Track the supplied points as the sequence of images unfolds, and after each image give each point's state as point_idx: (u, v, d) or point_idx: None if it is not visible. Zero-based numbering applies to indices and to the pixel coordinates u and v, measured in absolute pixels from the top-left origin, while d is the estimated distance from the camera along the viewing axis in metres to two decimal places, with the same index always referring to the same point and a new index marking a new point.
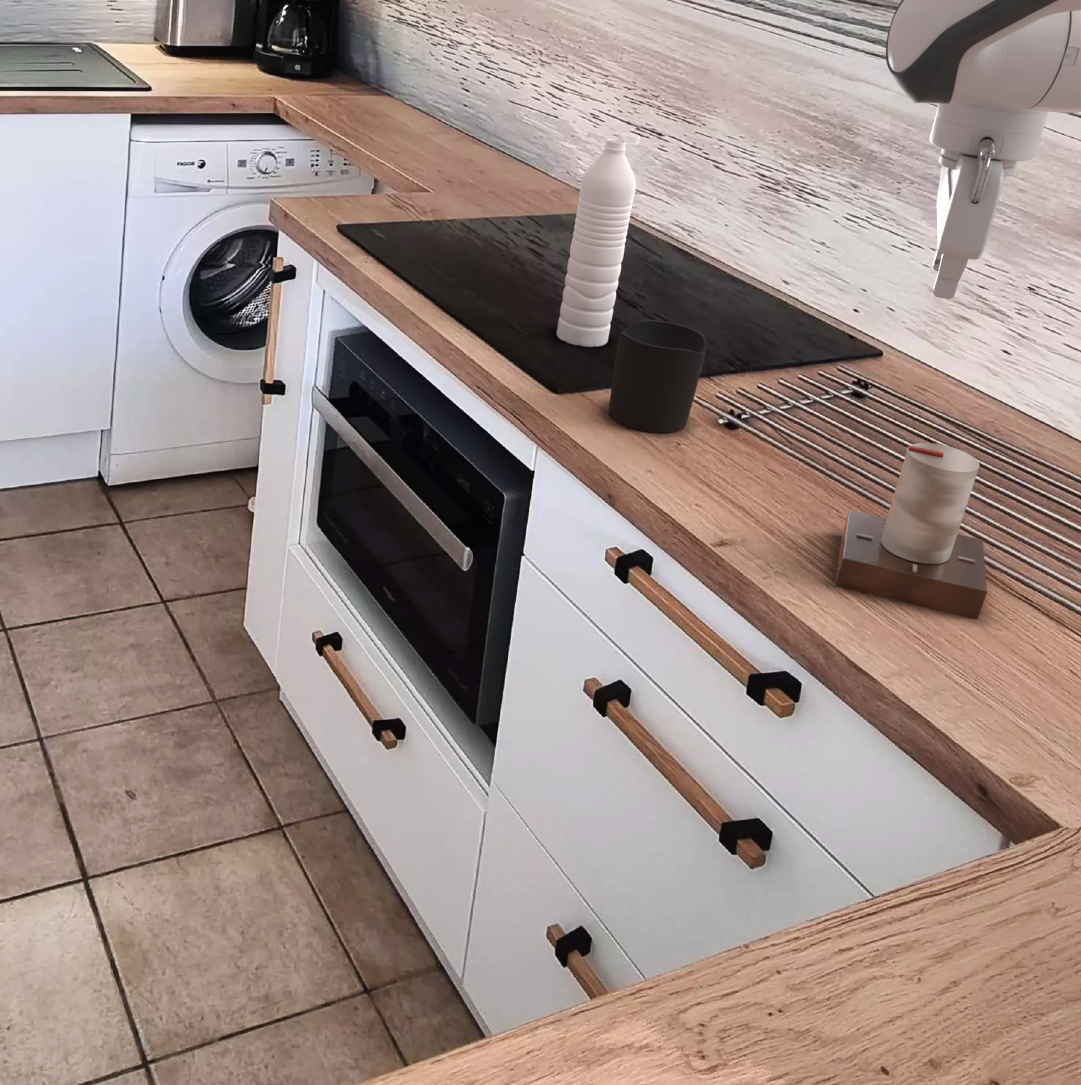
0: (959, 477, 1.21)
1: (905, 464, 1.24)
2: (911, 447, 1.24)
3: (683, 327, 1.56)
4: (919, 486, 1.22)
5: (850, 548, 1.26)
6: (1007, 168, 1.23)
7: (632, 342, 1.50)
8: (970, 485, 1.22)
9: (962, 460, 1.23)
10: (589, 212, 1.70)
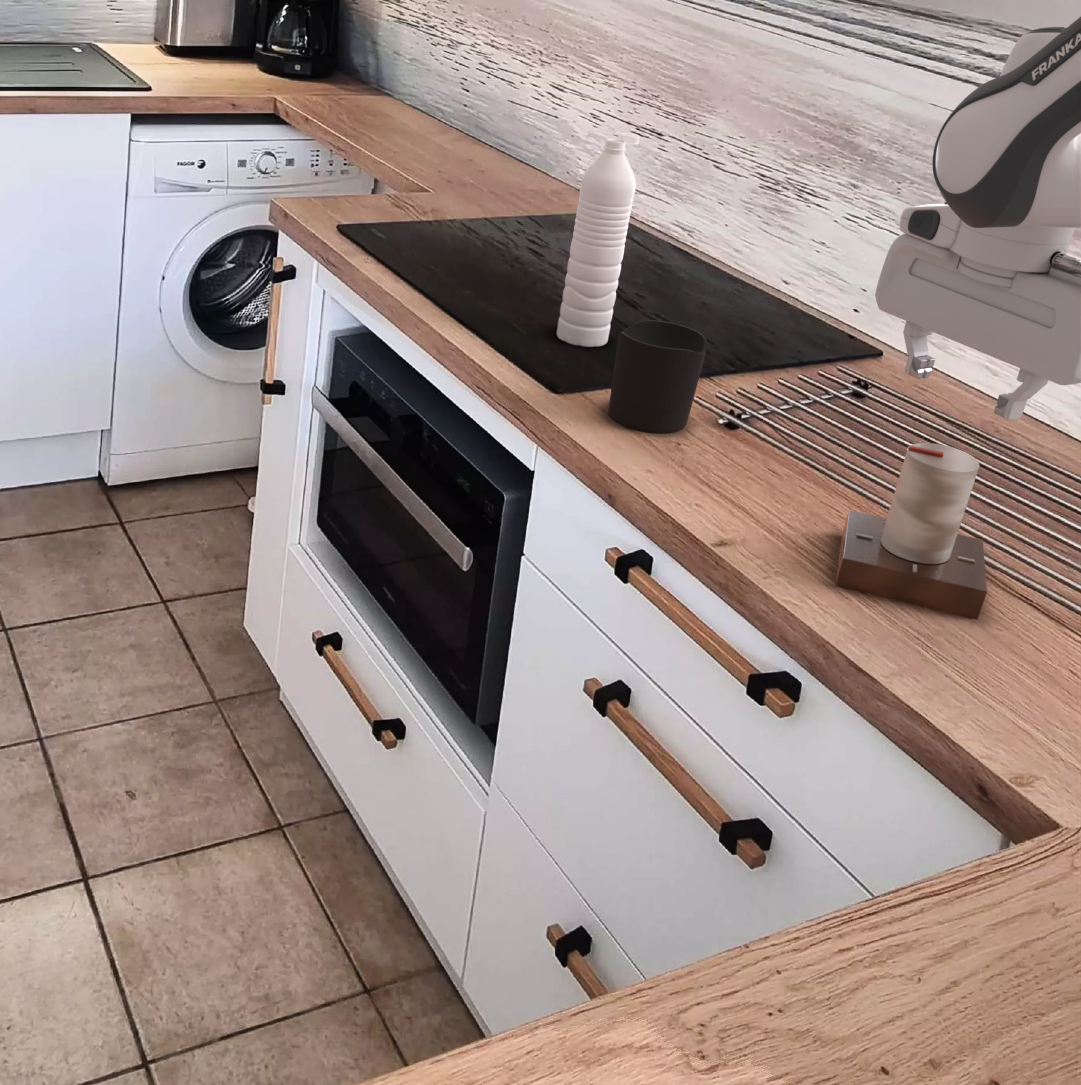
0: (959, 477, 1.21)
1: (905, 464, 1.24)
2: (911, 447, 1.24)
3: (683, 327, 1.56)
4: (919, 486, 1.22)
5: (850, 548, 1.26)
6: None
7: (632, 342, 1.50)
8: (970, 485, 1.22)
9: (962, 460, 1.23)
10: (589, 212, 1.70)
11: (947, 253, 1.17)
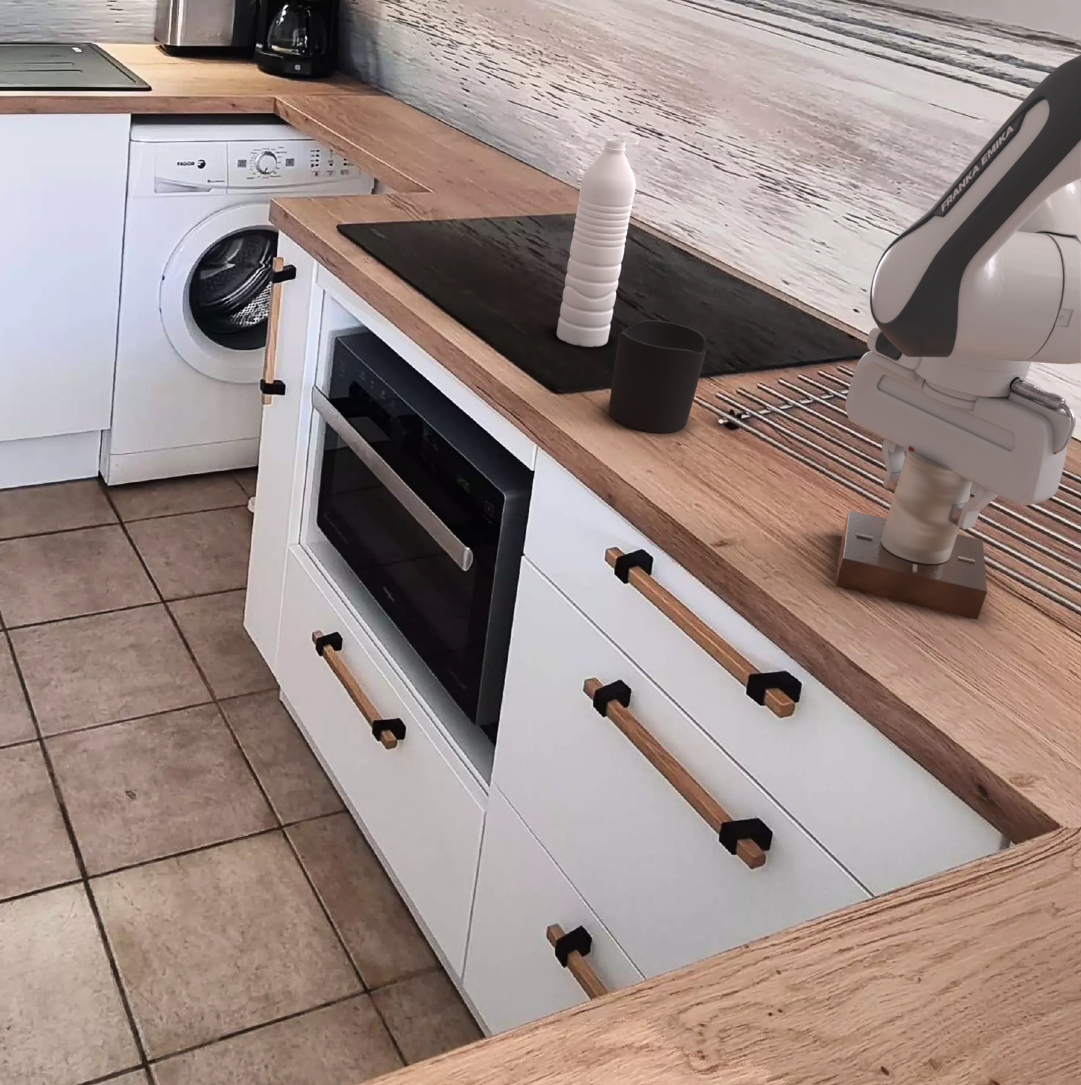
0: (959, 477, 1.21)
1: (905, 464, 1.24)
2: (911, 447, 1.24)
3: (683, 327, 1.56)
4: (919, 486, 1.22)
5: (850, 548, 1.26)
6: None
7: (632, 342, 1.50)
8: (970, 485, 1.22)
9: None
10: (589, 212, 1.70)
11: (912, 373, 1.21)
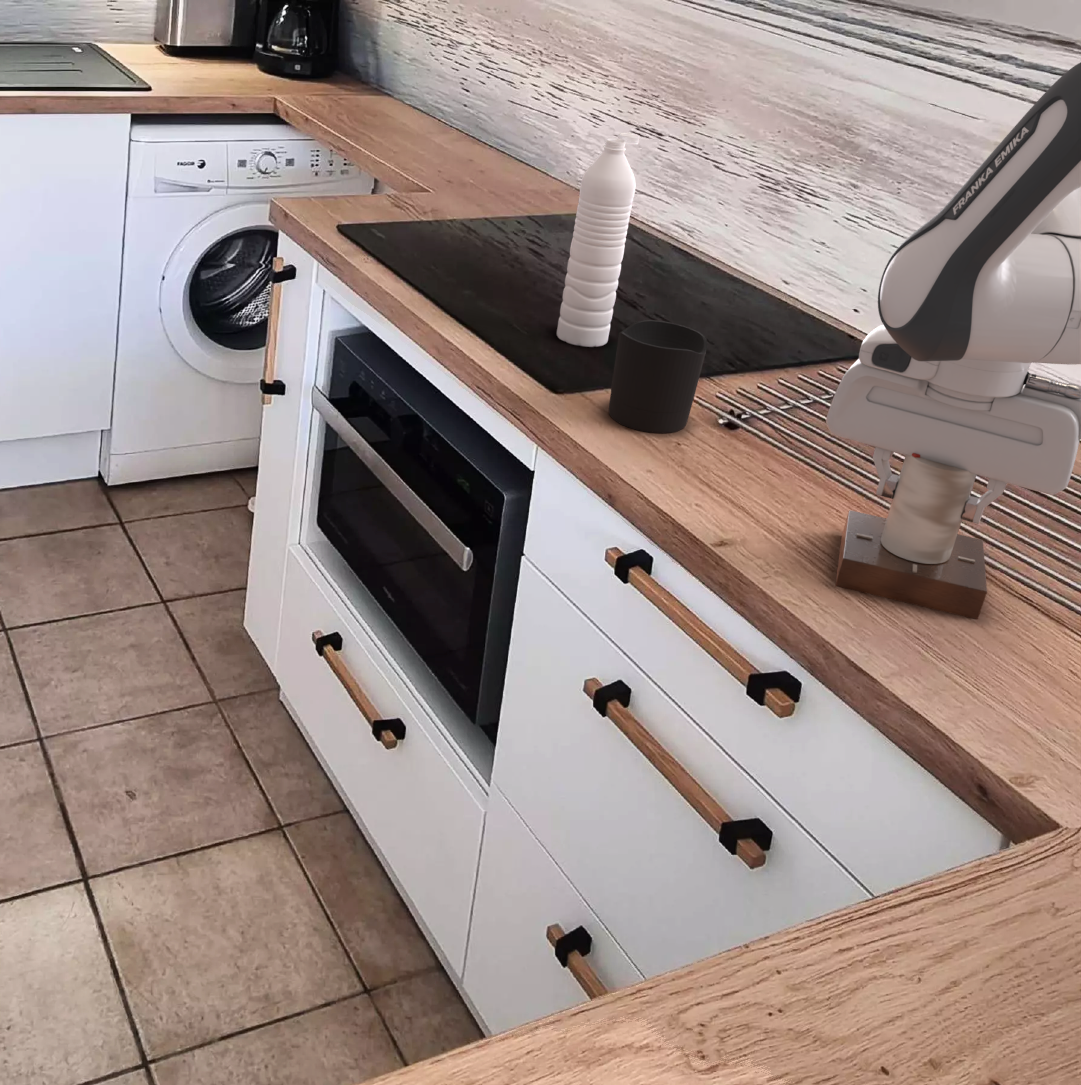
0: (972, 475, 1.22)
1: (915, 472, 1.22)
2: (917, 454, 1.22)
3: (683, 327, 1.56)
4: (937, 492, 1.22)
5: (850, 548, 1.26)
6: None
7: (632, 342, 1.50)
8: None
9: None
10: (589, 212, 1.70)
11: (918, 382, 1.20)
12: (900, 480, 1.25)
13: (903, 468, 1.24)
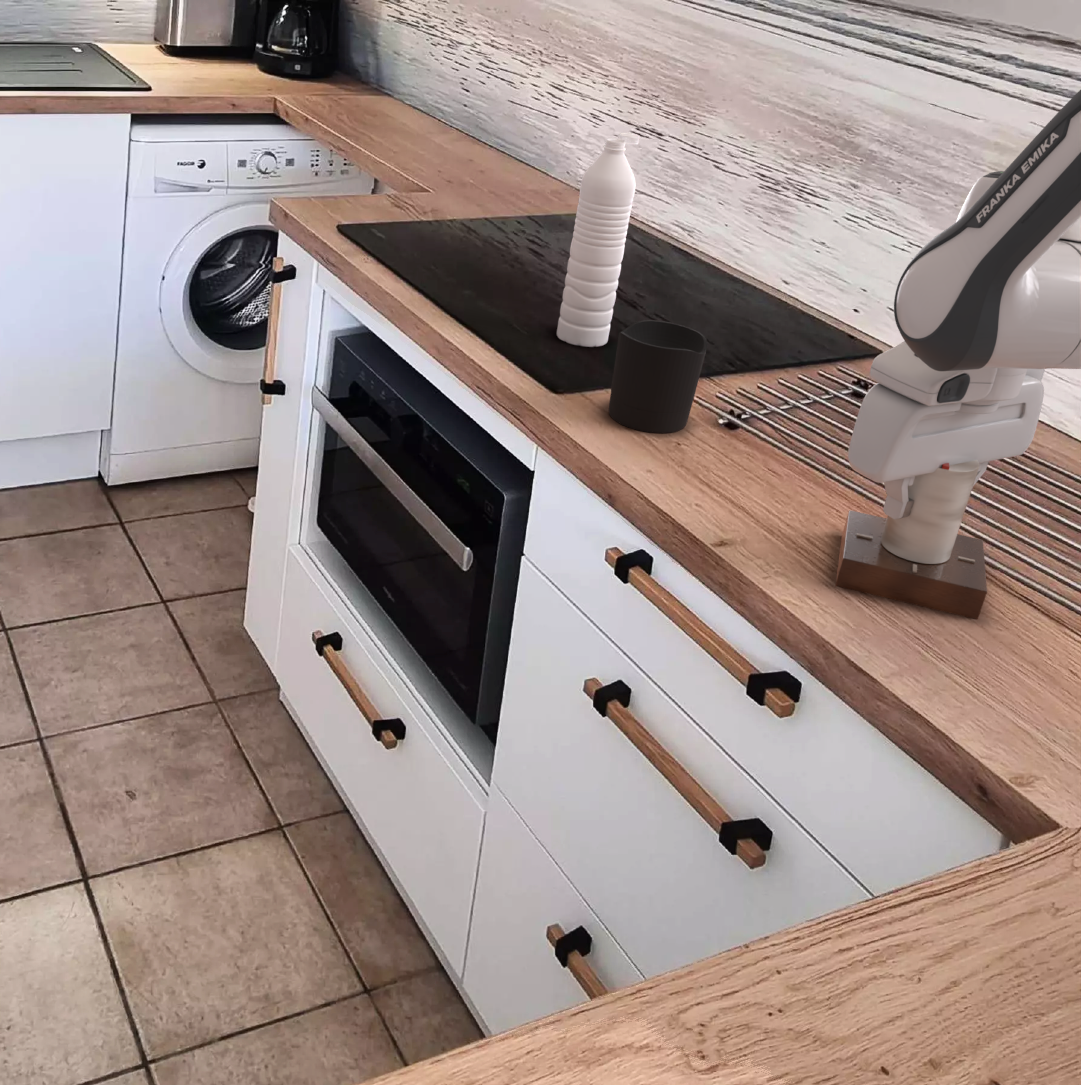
0: None
1: (951, 482, 1.21)
2: (949, 465, 1.21)
3: (683, 327, 1.56)
4: (969, 491, 1.22)
5: (850, 548, 1.26)
6: None
7: (632, 341, 1.50)
8: None
9: None
10: (589, 212, 1.70)
11: (960, 403, 1.17)
12: (927, 495, 1.22)
13: (928, 483, 1.22)
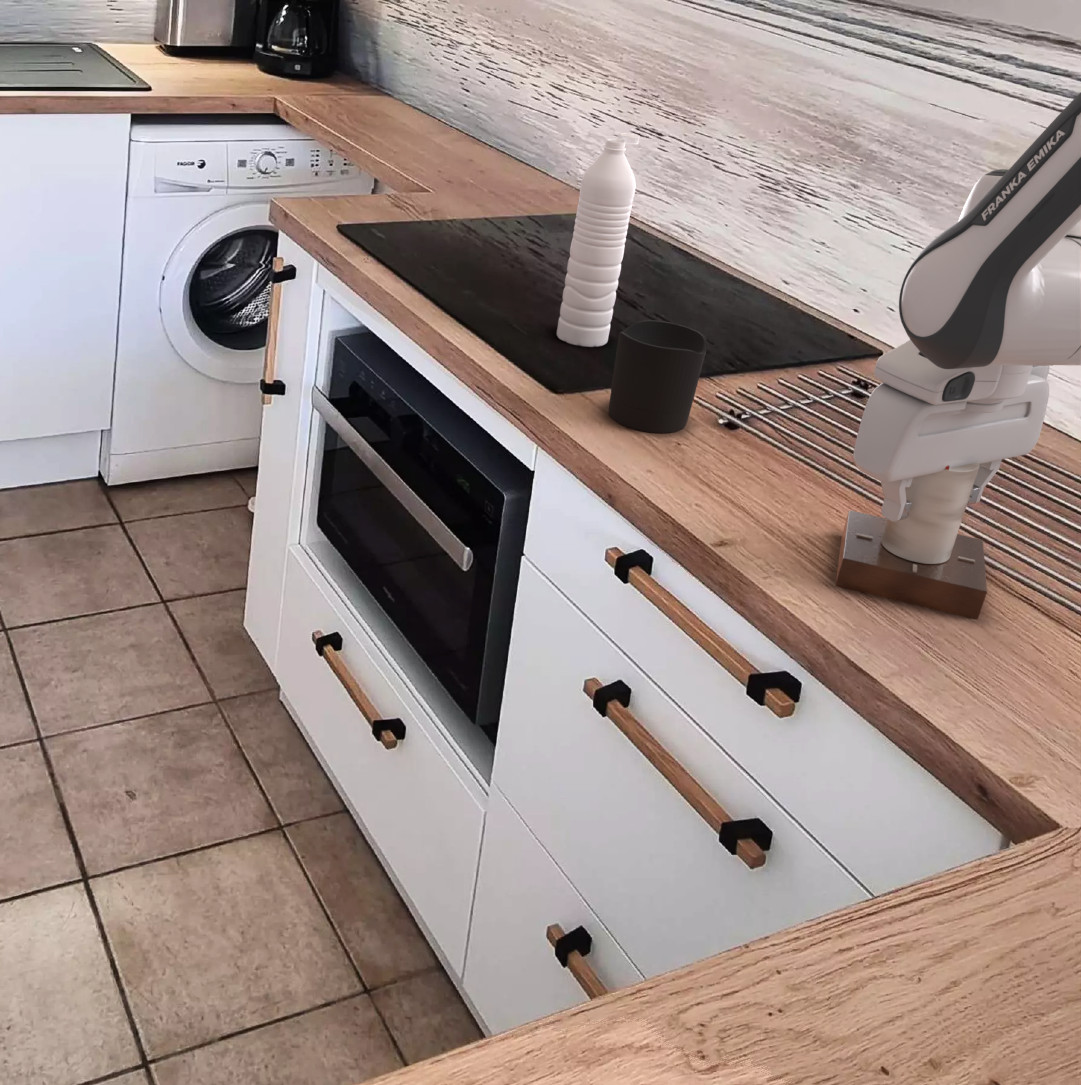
0: None
1: (951, 482, 1.21)
2: None
3: (683, 327, 1.56)
4: (969, 491, 1.22)
5: (850, 548, 1.26)
6: None
7: (632, 342, 1.50)
8: None
9: None
10: (589, 212, 1.70)
11: (965, 402, 1.17)
12: (927, 495, 1.22)
13: (928, 483, 1.22)
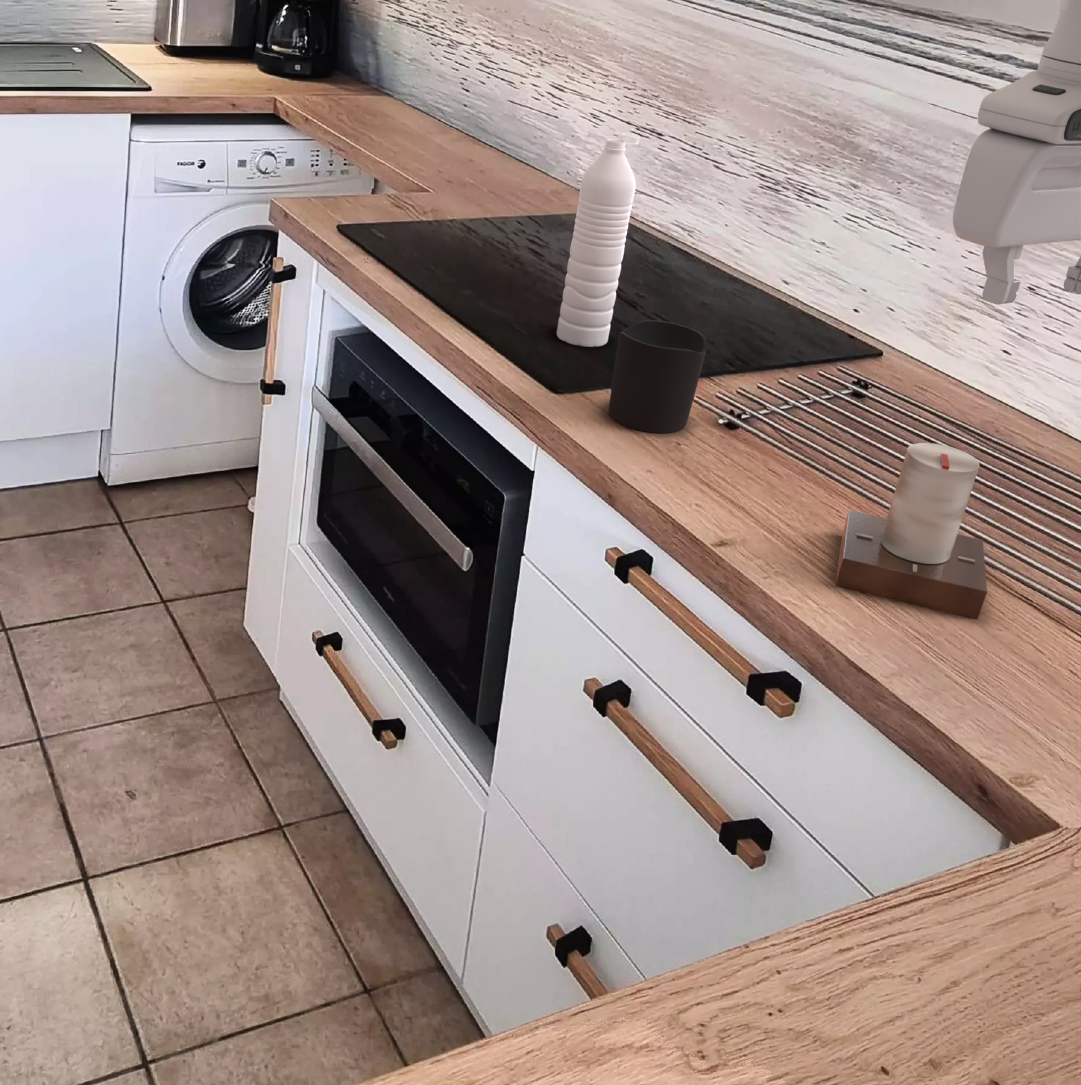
0: None
1: (951, 482, 1.21)
2: (948, 465, 1.21)
3: (683, 327, 1.56)
4: (969, 491, 1.22)
5: (850, 548, 1.26)
6: None
7: (632, 341, 1.50)
8: None
9: (942, 450, 1.25)
10: (589, 212, 1.70)
11: None
12: (927, 495, 1.22)
13: (928, 483, 1.22)
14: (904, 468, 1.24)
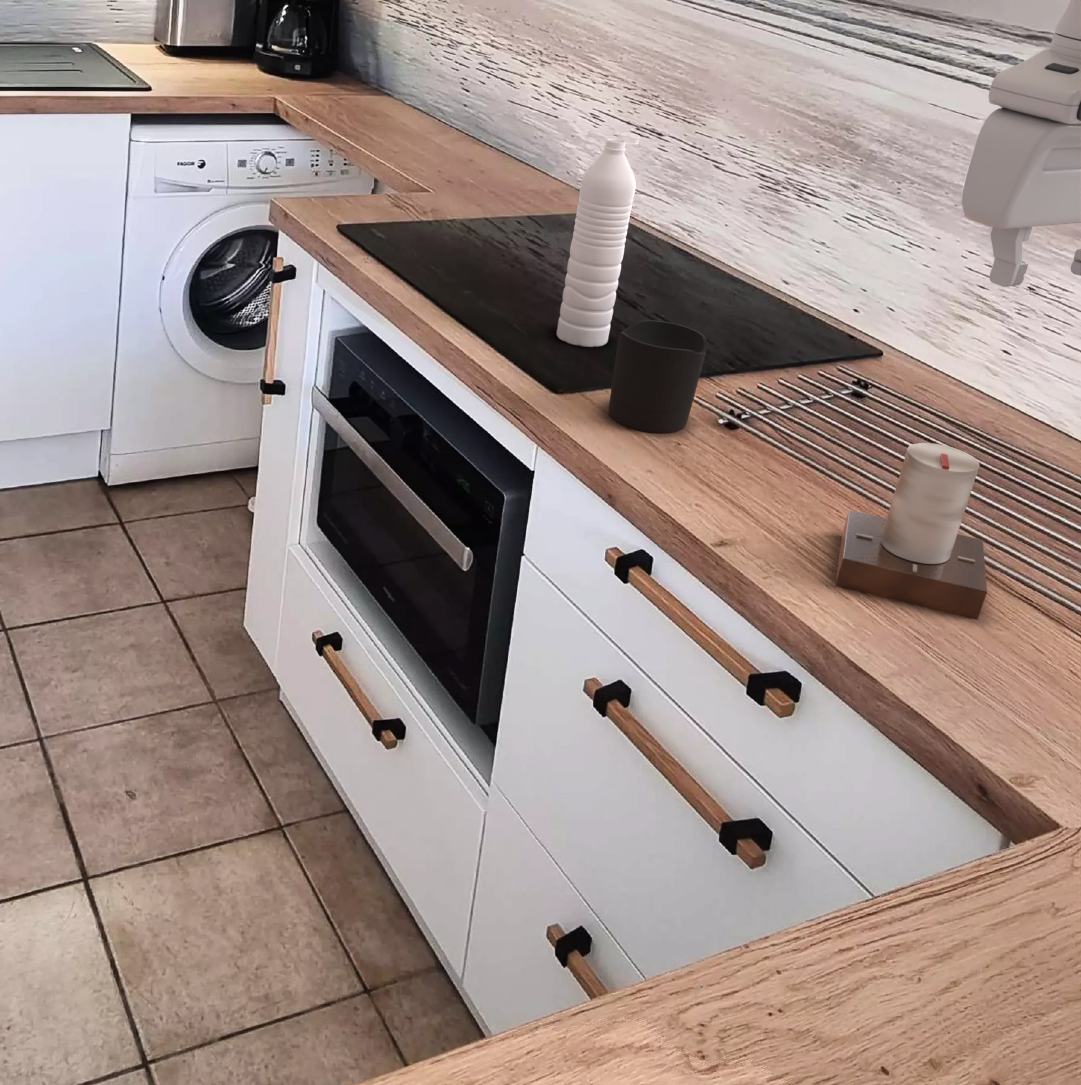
0: None
1: (951, 482, 1.21)
2: (948, 465, 1.21)
3: (683, 327, 1.56)
4: (969, 491, 1.22)
5: (850, 548, 1.26)
6: None
7: (632, 342, 1.50)
8: None
9: (942, 450, 1.25)
10: (589, 212, 1.70)
11: None
12: (927, 495, 1.22)
13: (928, 483, 1.22)
14: (904, 468, 1.24)
